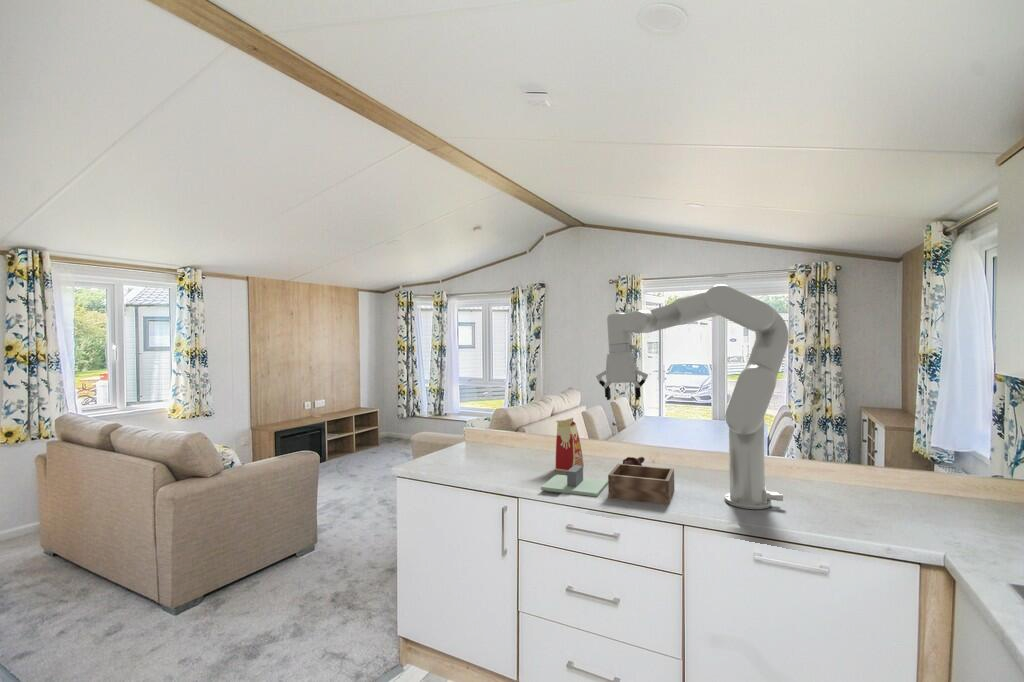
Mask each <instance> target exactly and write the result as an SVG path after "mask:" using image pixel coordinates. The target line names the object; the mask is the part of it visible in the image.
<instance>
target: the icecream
mask: <svg viewBox="0 0 1024 682" xmlns="http://www.w3.org/2000/svg"><path fill="white" fill-rule="evenodd" d="M644 462H645V457H644V456H640V457H638V458H636V457H631V456H628V457H626V458H625V459H623V460H622V464H627V465H638V466H643V463H644Z"/></svg>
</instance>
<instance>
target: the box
mask: <svg viewBox="0 0 1024 682" xmlns="http://www.w3.org/2000/svg"><path fill="white" fill-rule="evenodd" d="M607 480H608V485H607V486H608V498H609V499H619V500H624V501H625V500H626V501H632V502H633V501H634V502H642V503H652V504H658V505H665V506H666V505H668V506H670V505H671V502H672V498H673V495H674V492H675V468H672V467H671V468H669V467H658V466H648V465H642V466H638V465H627V464H623V463H617V464H616V466H614V467H613V469H612V470H611V471H610V472H609V473H608V474H607Z"/></svg>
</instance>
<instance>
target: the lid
mask: <svg viewBox="0 0 1024 682" xmlns="http://www.w3.org/2000/svg"><path fill="white" fill-rule="evenodd" d="M607 486H608V479H604V478H592V477H585V476H584V468H583V466H579V465H574V466H573V467H571V468H570V469H569V470H568V471H567V472H566V474H563V475H562V474H554V476H552V477H551V478H549V479H548V481H546V482H545V483H544V484H542V485H541V486H540V490H541V491H547V492H548V493H553V492H554V494H562V493H564V494H573V495H581V496H589V497H595V498H598V496H599V495H600V494H601V493H603V490H605V489H606V487H607Z"/></svg>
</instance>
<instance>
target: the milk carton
mask: <svg viewBox="0 0 1024 682" xmlns="http://www.w3.org/2000/svg"><path fill="white" fill-rule="evenodd" d="M555 422H556V423H557V426H556V440H555V468H554V469H555V471H558V472H565V473H567V471H568V470H569V469H570V468H571V467H573V466H574V465H579V466H583V469H584V468H585V467H584V456H583V450H582V446H581V444H582V443H581V440H580V436H579V431H578V427H577V423H576V422H574V417H571V418H567V419H562V420H561V419H560V420H555Z"/></svg>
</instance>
